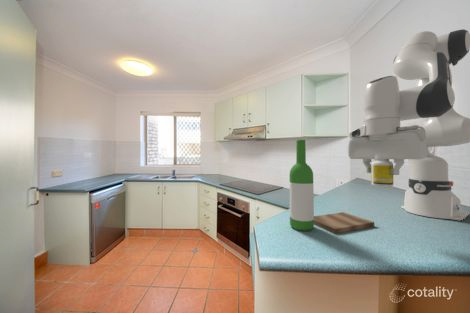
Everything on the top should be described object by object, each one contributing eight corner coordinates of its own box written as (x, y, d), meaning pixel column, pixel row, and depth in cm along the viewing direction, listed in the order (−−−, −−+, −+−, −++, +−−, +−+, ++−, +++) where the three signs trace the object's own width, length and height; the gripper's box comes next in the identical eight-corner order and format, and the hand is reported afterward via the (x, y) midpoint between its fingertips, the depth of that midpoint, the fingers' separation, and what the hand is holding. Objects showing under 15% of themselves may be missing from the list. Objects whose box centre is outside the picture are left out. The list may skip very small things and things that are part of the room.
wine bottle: (307, 222, 66) (306, 141, 66) (318, 231, 58) (317, 139, 59) (286, 223, 66) (285, 141, 66) (294, 232, 58) (294, 138, 58)
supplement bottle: (397, 187, 53) (397, 154, 53) (377, 187, 54) (376, 154, 54) (386, 184, 59) (386, 154, 59) (367, 184, 60) (367, 154, 60)
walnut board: (343, 215, 74) (343, 212, 74) (374, 226, 62) (374, 222, 62) (307, 221, 68) (307, 217, 68) (334, 233, 57) (334, 229, 57)
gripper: (432, 124, 48) (433, 176, 48) (357, 134, 67) (358, 171, 67) (417, 123, 46) (418, 177, 46) (344, 133, 65) (345, 171, 65)
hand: (382, 173), depth 57 cm, fingers closed on supplement bottle, 5 cm apart
